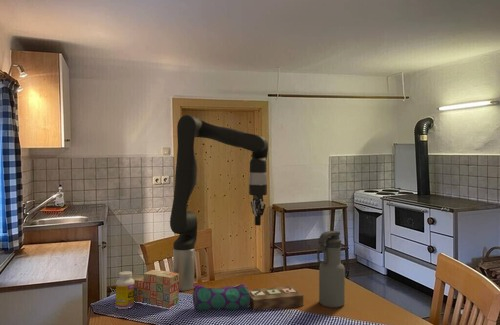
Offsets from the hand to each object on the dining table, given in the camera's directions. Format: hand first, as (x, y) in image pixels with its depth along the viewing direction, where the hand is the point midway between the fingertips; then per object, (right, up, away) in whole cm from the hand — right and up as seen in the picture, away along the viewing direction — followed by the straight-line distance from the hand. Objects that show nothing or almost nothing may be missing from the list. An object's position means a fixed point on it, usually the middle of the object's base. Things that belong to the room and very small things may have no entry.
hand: (257, 225), depth 157 cm
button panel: (+6, -29, -9) cm, 31 cm away
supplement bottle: (-50, -29, -15) cm, 60 cm away
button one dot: (+6, -27, -9) cm, 29 cm away
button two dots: (+12, -27, -7) cm, 31 cm away
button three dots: (0, -27, -11) cm, 29 cm away
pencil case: (-14, -29, -16) cm, 36 cm away
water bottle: (+29, -29, -9) cm, 42 cm away
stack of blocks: (-41, -29, -10) cm, 52 cm away
